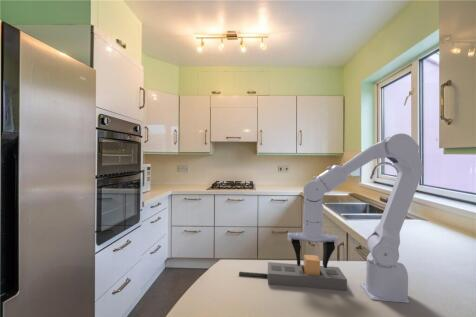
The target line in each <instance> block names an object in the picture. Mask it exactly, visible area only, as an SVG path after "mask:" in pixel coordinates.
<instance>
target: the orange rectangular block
mask: <svg viewBox="0 0 476 317" xmlns="http://www.w3.org/2000/svg"><path fill="white" fill-rule="evenodd" d="M303 265H304V274H308V275H320V266H321V260H320V258H319V256H318V255H315V254H313V255H312V254H303Z"/></svg>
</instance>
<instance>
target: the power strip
mask: <svg viewBox="0 0 476 317" xmlns="http://www.w3.org/2000/svg"><path fill="white" fill-rule="evenodd" d="M238 275H239V276H243V277H244V276H245V277H246V276H247V277H256V278H257V277H258V278H267V284H268V285H278V286H289V287H290V286H291V287H300V288H301V287H303V288H315V289H326V290H327V289H328V290H337V291H338V290H339V291H347V290H348V279H347V278H346V276H345V275H344V273H343V271H342V270H341V268H340V267H339V266H328V265H327V268H324V266H323V265H320V275H308V274H304V264H300V266H298V265H297V263H284V262H273V261H272V262H271V261H268V262H267V273H263V272H262V273H259V272H248V271H239V272H238Z"/></svg>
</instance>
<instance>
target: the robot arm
mask: <svg viewBox="0 0 476 317" xmlns="http://www.w3.org/2000/svg"><path fill="white" fill-rule="evenodd" d="M385 158H386V159H387V160H389V161H390V162H391V163H392V164H393V166H394V167H395V168H396V170H397V171H398V173H397V175H396V177H395V181H394V184H393V185H392V189H391V192H390V193H389V196H388V200H387V202H386V205H385V207H384V210H383V213H382V216H381V218H380V221H379V223H378V224H377V225H376V226H375V228H374V230H373V232H372V233H371V234H370V235H369V236H368V237H367V238H366V248H367V249H368V251H369V253H368V255H367V256H366V269H365V270H366V274H365V276H366V277H365V281H366V282H365V283H360V287H361V288H362V289H363V291H364V292H365V293H366V294H367V296H368V297H369V299H371V300H372V301H380V302H381V301H383V302H396V303H405V304H409V303H410V299H408V297H409V294H408V293H409V274H408V271H407V268H406V266H405V265H404V264H403V263H401V262H399V259H400V251H399V247H400V245H401V234H400V233H401V230H402V227H403V224H404V222H405V219H406V216H407V214H408V211H409V209H410V207H411V204H412V201H413V198H414V197H415V193H416V191H417V190H418V186H419V184H420V181H421V178H422V175H423V173H424V166H423V163H422V160H421V156H420V146H419V144H418V143H417V142H416V141H415V140H414V139H413V137H412V136H411V135H409V134H406V133H396V134H394V135H392V136H388V137H385V138H383V140H381V141H378V142H376V143H374V144H372V145H370V146H368V147H367V148H365V149H364V150H362V151H361V152H359V153H358V154H356V155H355V156H354V157H351V158H350V159H349V160H348V161H346V162H345V163H343V164H342V165H338V164H333V165H332V166H331V165H328V166H327V167H326V170H324V171H323V172H322V173H320V174H318V175H315V176H313V177H312V179H313V180H309V181H308V182H306V183H305V185H304V187H303V196H304V198H303V212H302V231H301V232H287V241H288V242H291V245H292V247H293V250H294V252H295V256H296V257H295V258H296V264H297V265H298V266H300V265H301V250H302V246H301V242H309V243H310V242H312V243H322V247H323V248H322V251H323V252H322V253H323V254H322V266H324V268H327V266H328V263H329V261H330V258H331V257H332V254H333V252H334V251H335V249H336V245H338V244H339V237H338V236H337V235H334V234H333V235H331V234H325V233H323V231H324V229H323V228H324V227H323V226H324V225H323V224H324V206H323V198H324V196H325V193H326V194H327V193H328V194H329V193H331V192H332V191H333V190H335V189H337V188H338V187H340V186H342V185H343V184H344V183H346V182H347V181H348V178H349V175H350V174H351V173H353V172H355V171H357V170H358V169H360V168H362V167H363V166H365V165H366V164H369V163H370V162H372V161H374V160H377V159H378V160H379V159H385Z"/></svg>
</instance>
